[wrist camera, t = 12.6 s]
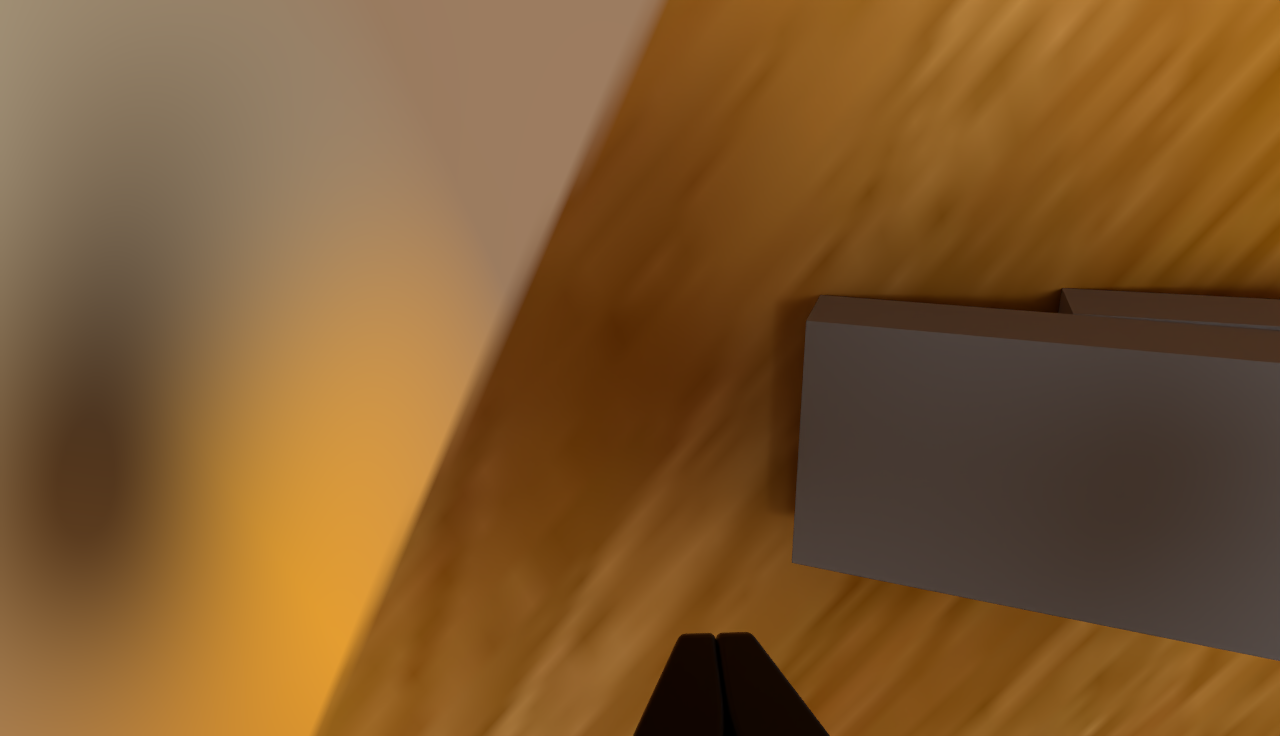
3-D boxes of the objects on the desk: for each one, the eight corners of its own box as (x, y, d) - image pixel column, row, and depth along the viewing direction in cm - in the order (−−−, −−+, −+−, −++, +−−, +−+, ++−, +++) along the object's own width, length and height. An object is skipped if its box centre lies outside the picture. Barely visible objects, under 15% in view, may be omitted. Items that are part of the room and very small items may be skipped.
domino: (805, 519, 16) (1259, 601, 13) (791, 563, 15) (1294, 663, 12) (820, 294, 14) (1352, 335, 11) (806, 320, 13) (1408, 373, 10)
